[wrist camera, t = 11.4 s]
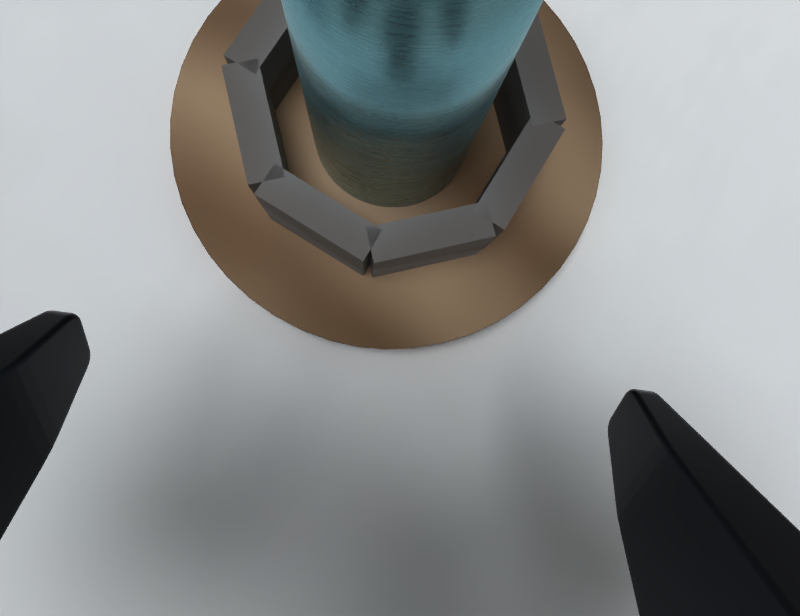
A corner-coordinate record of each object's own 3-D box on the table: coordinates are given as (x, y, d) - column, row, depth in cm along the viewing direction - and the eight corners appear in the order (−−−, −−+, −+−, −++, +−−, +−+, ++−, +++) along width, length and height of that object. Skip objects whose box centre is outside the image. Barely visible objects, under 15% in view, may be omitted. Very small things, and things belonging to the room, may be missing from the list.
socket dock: (458, 428, 18) (484, 447, 14) (98, 205, 18) (27, 165, 14) (656, 91, 19) (726, 27, 16) (326, -115, 19) (318, -230, 16)
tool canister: (495, 164, 18) (771, -247, 6) (359, 234, 17) (346, -55, 5) (422, 33, 18) (538, -625, 6) (286, 98, 17) (111, -476, 5)
